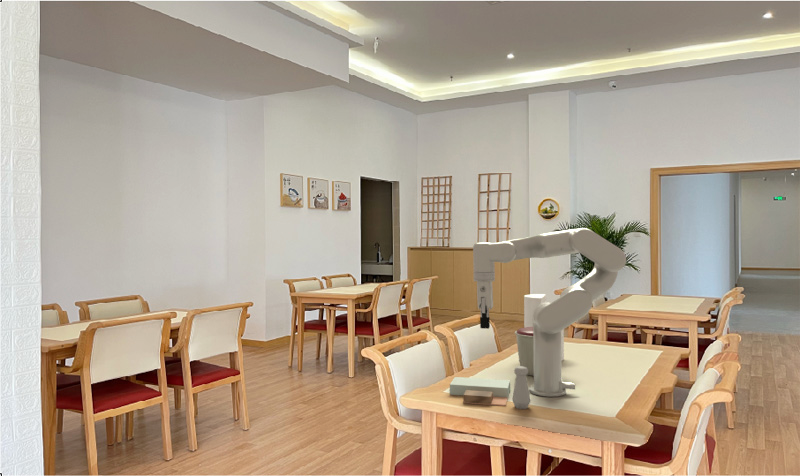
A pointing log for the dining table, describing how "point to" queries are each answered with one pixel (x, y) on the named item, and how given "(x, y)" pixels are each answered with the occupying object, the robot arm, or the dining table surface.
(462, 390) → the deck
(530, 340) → the canister
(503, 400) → the mat
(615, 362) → the dining table surface
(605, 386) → the dining table surface
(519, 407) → the salt shaker
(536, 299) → the white tall block
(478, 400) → the brown wooden block
